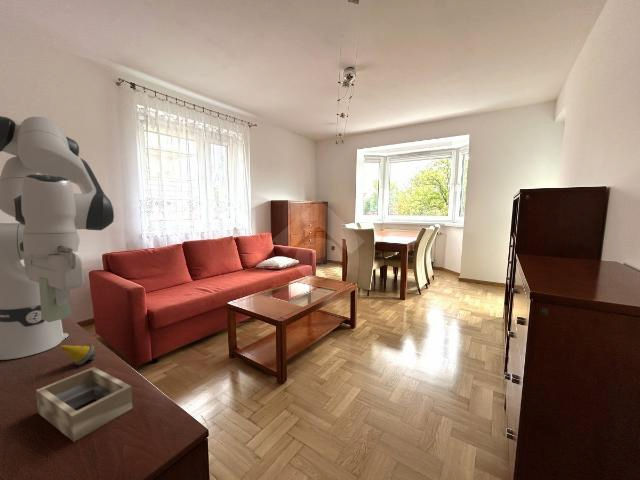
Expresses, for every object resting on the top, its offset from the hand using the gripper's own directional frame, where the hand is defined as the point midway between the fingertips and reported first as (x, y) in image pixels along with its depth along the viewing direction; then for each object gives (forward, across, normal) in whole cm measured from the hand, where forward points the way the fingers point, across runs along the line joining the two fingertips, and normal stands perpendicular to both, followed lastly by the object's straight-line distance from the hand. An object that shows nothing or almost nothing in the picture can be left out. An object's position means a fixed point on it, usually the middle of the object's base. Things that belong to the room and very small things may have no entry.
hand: (55, 303), depth 63 cm
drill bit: (+21, +8, -7) cm, 24 cm away
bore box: (+21, -15, +1) cm, 26 cm away
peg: (+4, 0, 0) cm, 4 cm away
